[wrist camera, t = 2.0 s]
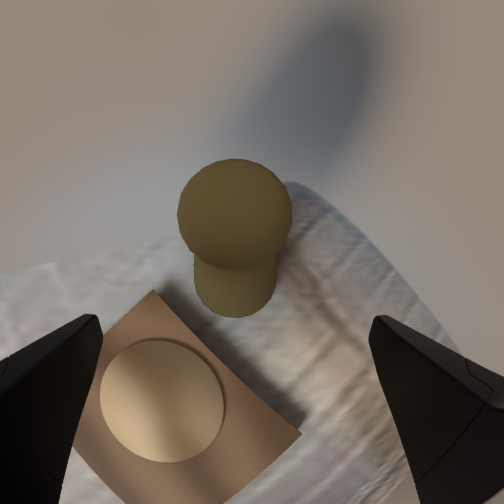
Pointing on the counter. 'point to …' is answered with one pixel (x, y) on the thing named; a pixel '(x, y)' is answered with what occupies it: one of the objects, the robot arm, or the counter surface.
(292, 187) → the counter surface
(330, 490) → the counter surface
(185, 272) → the counter surface
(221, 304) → the pepper shaker
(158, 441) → the plate
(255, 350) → the counter surface
